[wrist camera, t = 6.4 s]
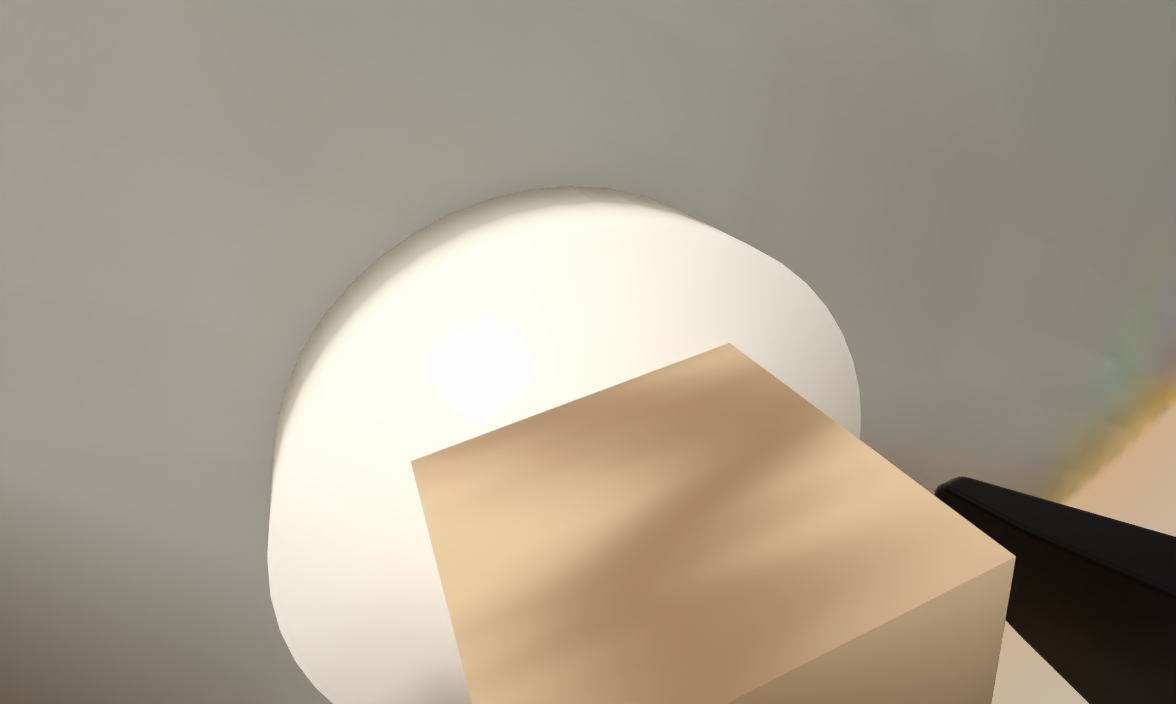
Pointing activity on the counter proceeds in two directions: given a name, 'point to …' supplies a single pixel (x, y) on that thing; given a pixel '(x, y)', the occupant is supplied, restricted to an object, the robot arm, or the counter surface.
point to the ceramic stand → (492, 398)
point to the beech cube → (706, 554)
